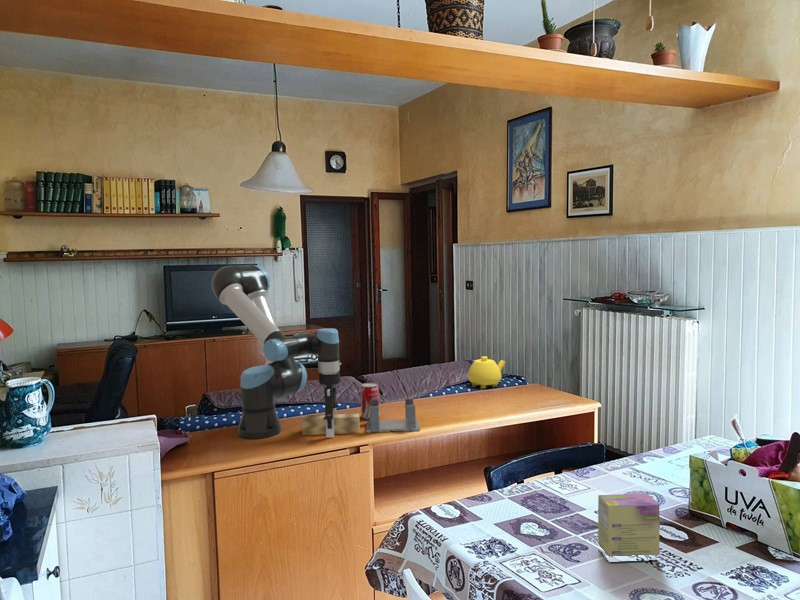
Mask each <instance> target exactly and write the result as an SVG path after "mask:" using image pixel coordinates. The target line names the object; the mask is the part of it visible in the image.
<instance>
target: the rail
mask: <svg viewBox="0 0 800 600" xmlns="http://www.w3.org/2000/svg"><path fill="white" fill-rule="evenodd" d="M323 417H325V414H306V415H303V416H302V419H301V423H302V424H301V425H302V426H301V427H302V428H301V430H302V436H308V435H309V436H310V435H313V436H314V435H326V420H324V419H323ZM333 418H334V435H337V434H338V435H339V434H340V435H341V434H342V435H343V434H360V430H361V424H360V423H361V421H360V413H339V414H338V413H336V414H333Z"/></svg>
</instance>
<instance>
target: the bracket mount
mask: <svg viewBox="0 0 800 600" xmlns="http://www.w3.org/2000/svg"><path fill="white" fill-rule="evenodd" d="M404 404H405V405H404V407H405V408H404V411H405V418H401V419H400V418H396V419H395V418H394V419H380V416H379V406H378V399H370V420H367V419H366V431H365V432H366V434H372V433H373V434H374V433H375V434H376V433H377V432H380V433H390V432H389V431H404V432H420V431H421V426H420V422H419V418H418V417H417V418H416V404H414V397H405V398H404Z"/></svg>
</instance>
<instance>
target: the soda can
mask: <svg viewBox="0 0 800 600" xmlns="http://www.w3.org/2000/svg"><path fill="white" fill-rule="evenodd" d="M370 399H378V406H379V417H380V415H381V408H380V407H381V405H380V404H381V403H380V388H379V385H378V383H377V382H366V383H362V384H361V387H360V408H361V413H360V414H361V418H363V419H364V420H366V421H367V420H370Z"/></svg>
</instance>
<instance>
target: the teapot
mask: <svg viewBox="0 0 800 600" xmlns="http://www.w3.org/2000/svg"><path fill="white" fill-rule="evenodd" d="M505 364H506V361H505V360H503V359H501V360H500V361H499V362H498V363H496V361H495V360H493V359H490V358H489V359H488V356H485V355H484V356H481V357H480V359H475V360H474V361H473V362H472V364H471V366H470V368H469V369H468V375H467V379H468V380H469V382H471V384H472V385H471V386H472V387H474V386H475V387H476V386H480V389H482V390H483V389H487V386H491V387H495V388H497V387H499V385H498V383H499V382H500V381H501V380H502V378H503V377H502V369H503V368H504V366H505Z"/></svg>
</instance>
